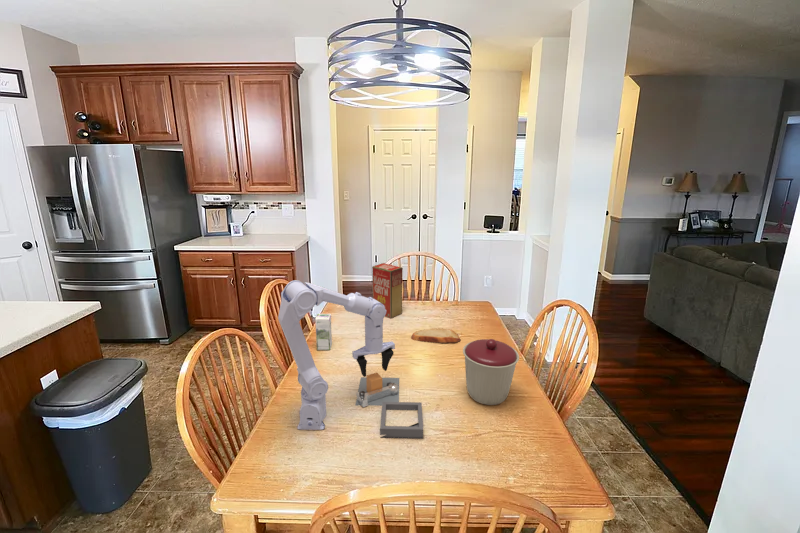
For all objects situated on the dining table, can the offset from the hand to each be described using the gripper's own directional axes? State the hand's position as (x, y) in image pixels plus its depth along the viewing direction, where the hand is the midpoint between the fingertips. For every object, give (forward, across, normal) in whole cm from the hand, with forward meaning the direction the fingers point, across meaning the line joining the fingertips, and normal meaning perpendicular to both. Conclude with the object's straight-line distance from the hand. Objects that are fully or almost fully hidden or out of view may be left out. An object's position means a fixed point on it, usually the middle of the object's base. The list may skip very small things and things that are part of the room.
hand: (374, 372), depth 127 cm
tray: (+9, -1, +17) cm, 19 cm away
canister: (+9, -34, +18) cm, 39 cm away
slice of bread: (+10, -42, -25) cm, 50 cm away
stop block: (+8, 0, 0) cm, 8 cm away
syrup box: (+9, +4, -40) cm, 42 cm away
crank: (+8, 0, +3) cm, 8 cm away
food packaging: (+9, -37, -61) cm, 72 cm away
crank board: (+9, -2, 0) cm, 9 cm away
